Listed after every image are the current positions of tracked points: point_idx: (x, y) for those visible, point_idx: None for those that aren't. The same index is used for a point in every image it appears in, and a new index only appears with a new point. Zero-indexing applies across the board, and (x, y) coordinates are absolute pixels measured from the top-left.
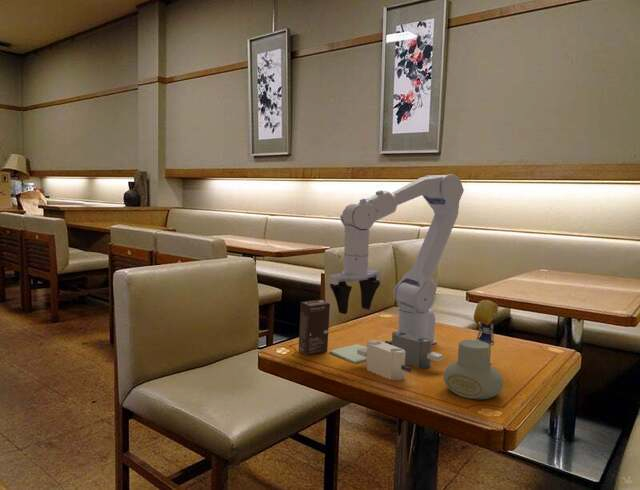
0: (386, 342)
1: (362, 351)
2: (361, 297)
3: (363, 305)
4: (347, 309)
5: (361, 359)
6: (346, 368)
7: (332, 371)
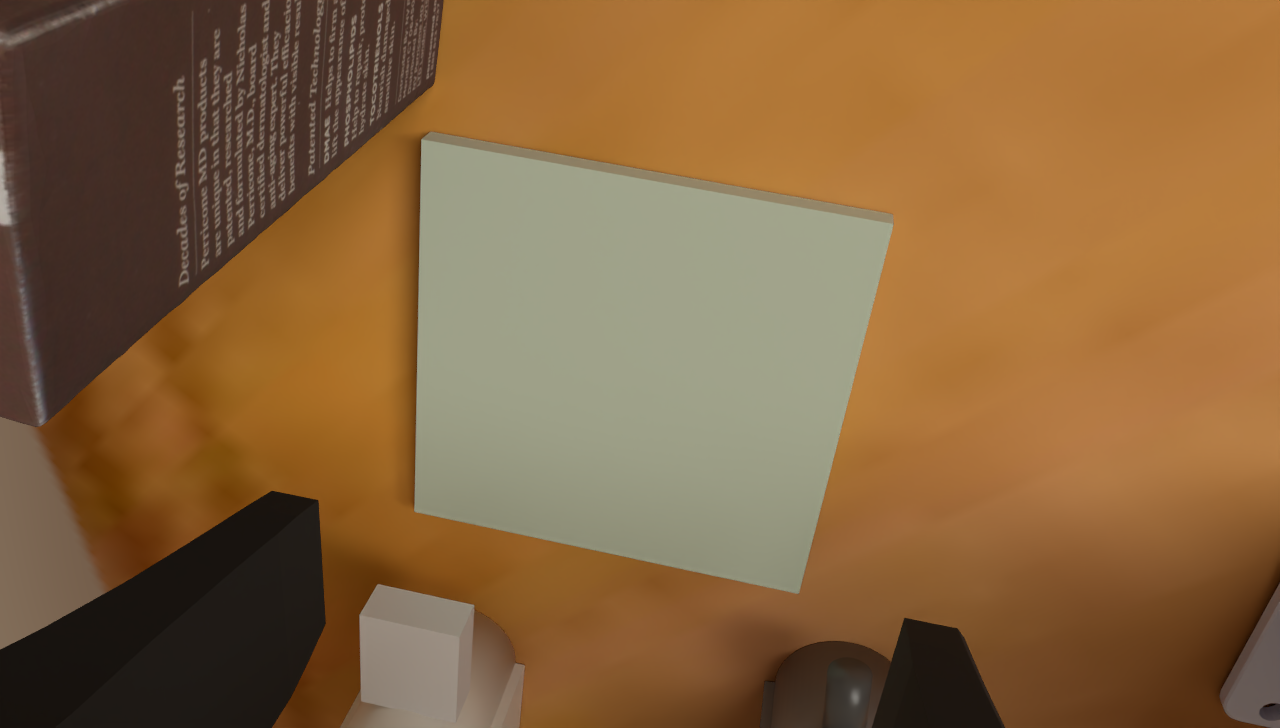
0: (826, 693)
1: (363, 671)
2: None
3: (895, 696)
4: (283, 702)
5: (501, 523)
6: None
7: (143, 456)
